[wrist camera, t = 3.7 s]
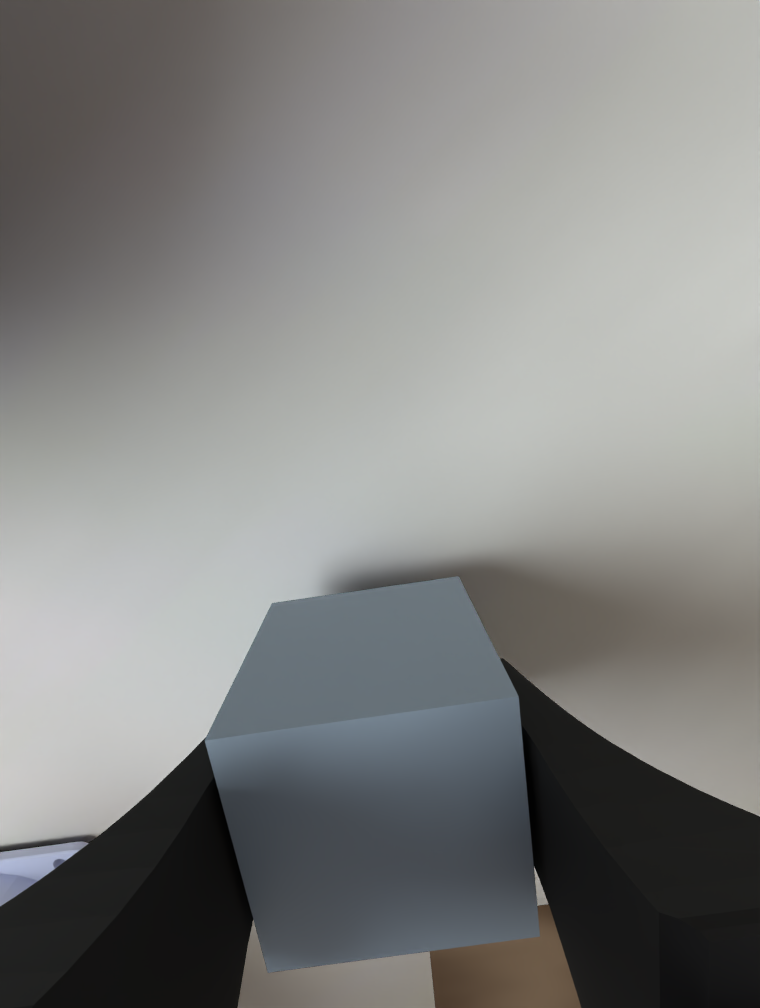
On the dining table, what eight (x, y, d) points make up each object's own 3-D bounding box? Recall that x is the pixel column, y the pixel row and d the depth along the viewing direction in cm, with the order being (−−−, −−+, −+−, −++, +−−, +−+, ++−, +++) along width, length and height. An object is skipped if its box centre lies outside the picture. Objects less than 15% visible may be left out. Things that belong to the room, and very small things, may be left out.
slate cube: (306, 761, 13) (267, 972, 8) (272, 603, 12) (204, 740, 7) (476, 737, 13) (540, 936, 8) (458, 576, 12) (518, 696, 7)
